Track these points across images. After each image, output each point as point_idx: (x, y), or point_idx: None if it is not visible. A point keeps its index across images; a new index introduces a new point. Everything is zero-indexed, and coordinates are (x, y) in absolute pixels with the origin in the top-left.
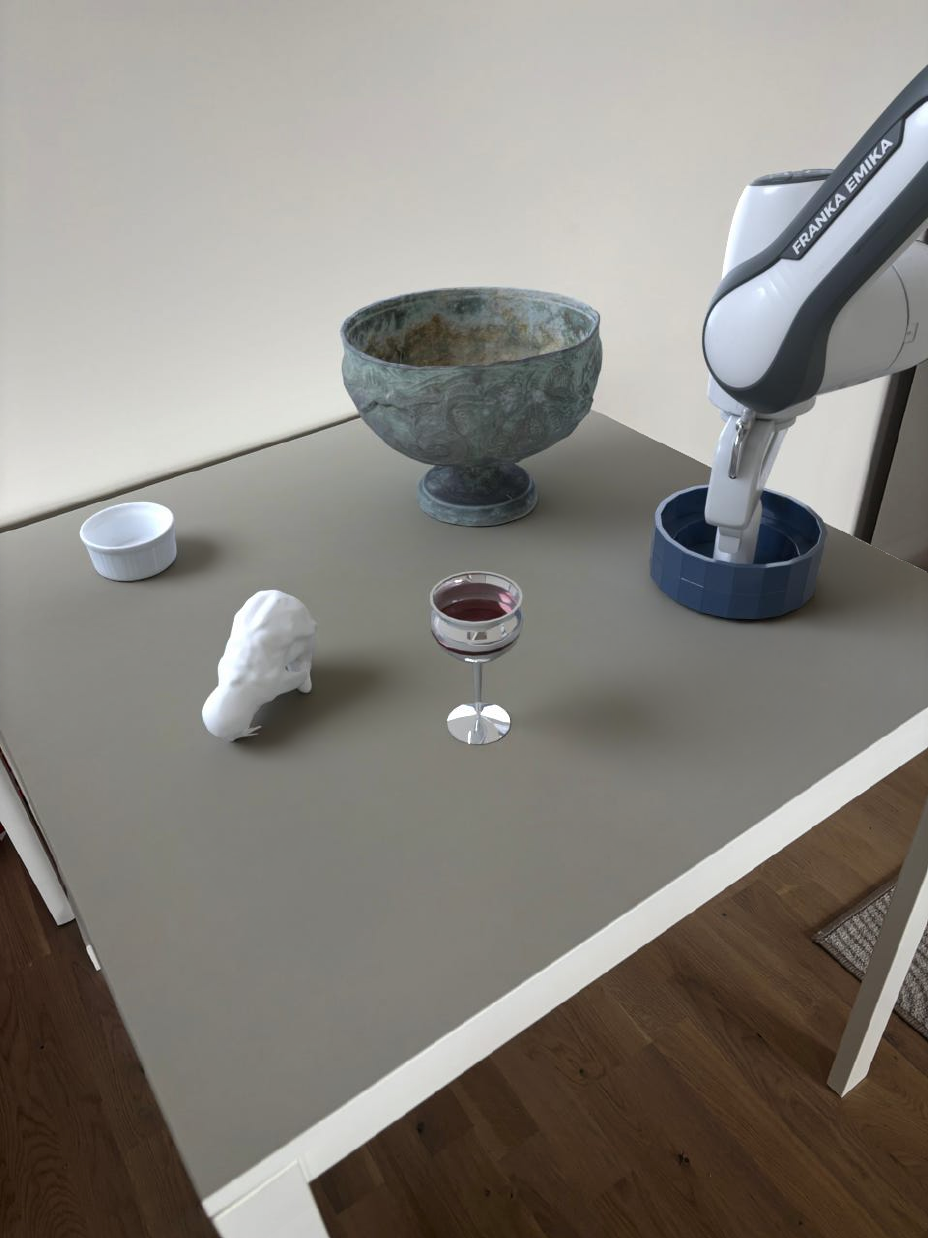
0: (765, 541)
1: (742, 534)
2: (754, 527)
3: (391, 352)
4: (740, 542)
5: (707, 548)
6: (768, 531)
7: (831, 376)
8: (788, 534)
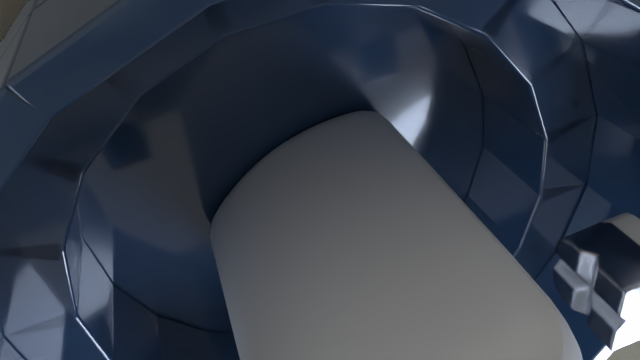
0: (74, 216)
1: (633, 273)
2: (532, 280)
3: None
4: (636, 244)
5: (215, 301)
6: (69, 246)
7: None
8: (68, 173)
